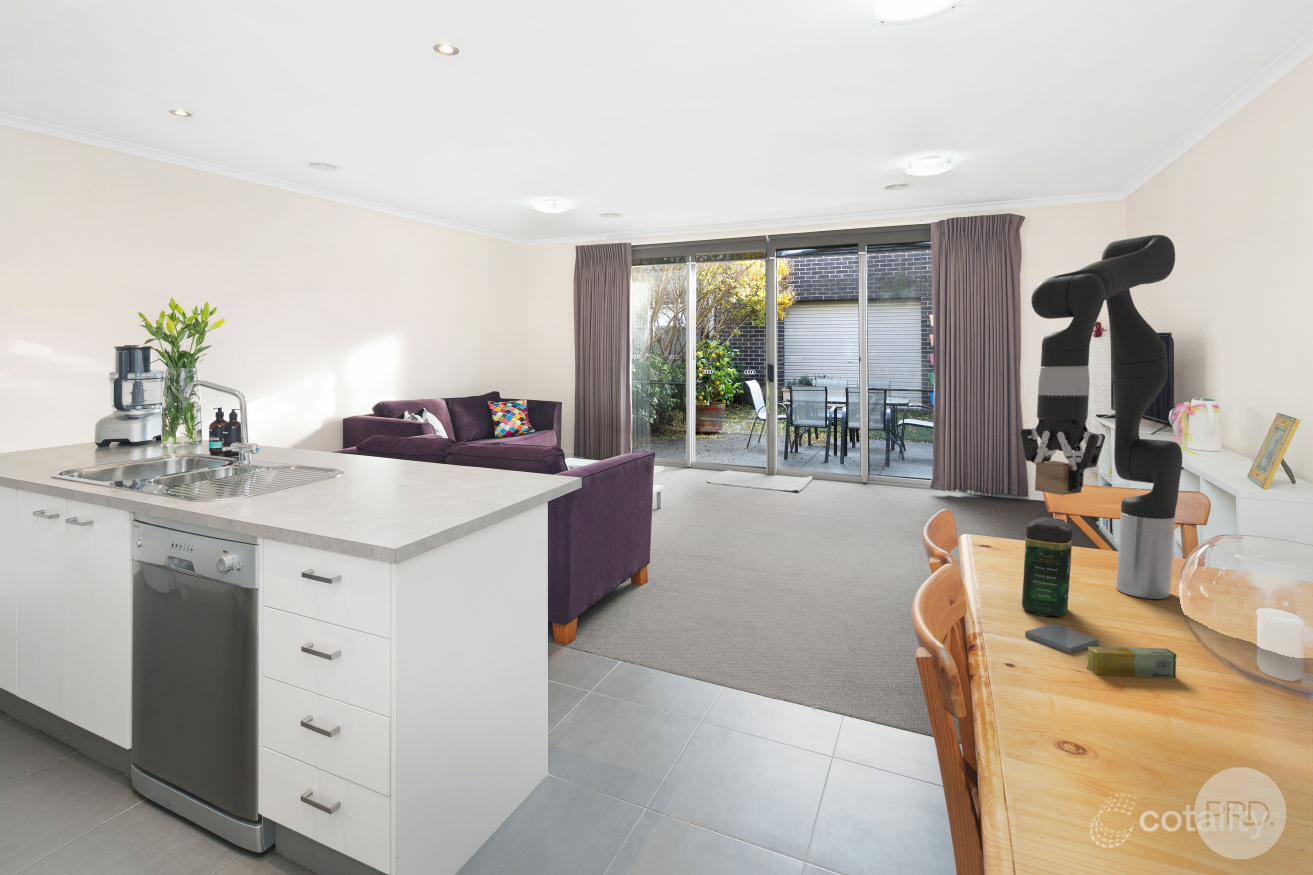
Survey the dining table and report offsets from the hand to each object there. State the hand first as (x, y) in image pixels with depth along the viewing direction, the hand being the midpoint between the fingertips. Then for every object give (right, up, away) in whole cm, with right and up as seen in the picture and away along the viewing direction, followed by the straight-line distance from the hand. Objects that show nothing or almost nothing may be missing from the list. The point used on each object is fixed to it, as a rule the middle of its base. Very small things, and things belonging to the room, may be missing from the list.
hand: (1058, 488), depth 114 cm
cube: (0, 0, 0) cm, 0 cm away
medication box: (+5, -29, -11) cm, 31 cm away
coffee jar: (+7, -26, +16) cm, 32 cm away
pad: (+1, -27, +1) cm, 27 cm away
